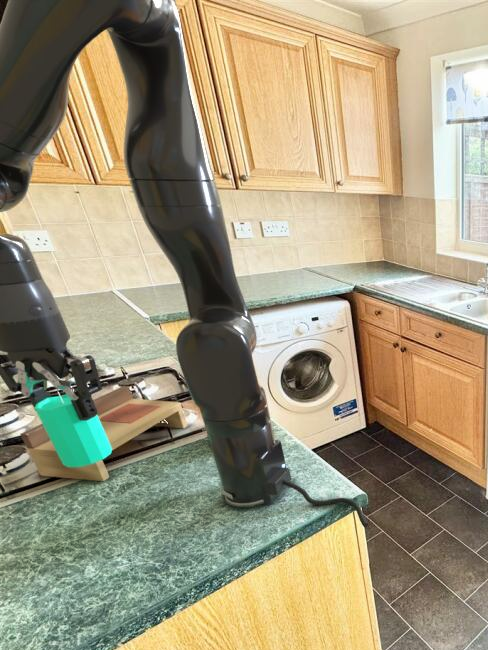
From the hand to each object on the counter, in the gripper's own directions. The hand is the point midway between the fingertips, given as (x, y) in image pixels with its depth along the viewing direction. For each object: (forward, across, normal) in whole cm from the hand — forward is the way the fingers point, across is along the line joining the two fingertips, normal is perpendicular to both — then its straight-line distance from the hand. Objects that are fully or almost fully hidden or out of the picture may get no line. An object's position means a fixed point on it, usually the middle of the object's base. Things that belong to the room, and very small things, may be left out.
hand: (69, 416), depth 66 cm
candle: (+8, 0, 0) cm, 8 cm away
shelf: (+16, +10, -14) cm, 24 cm away
